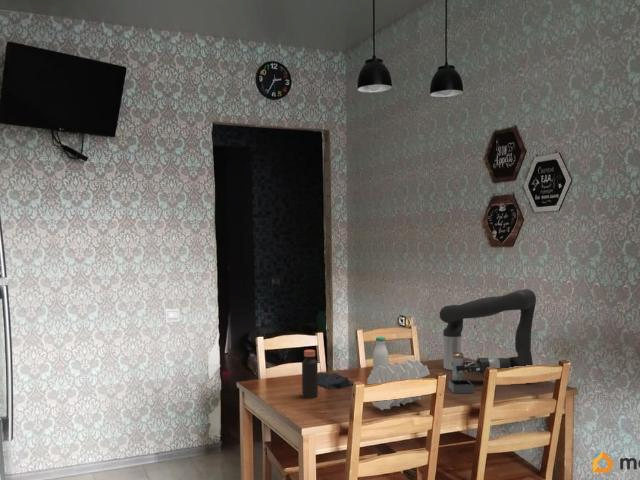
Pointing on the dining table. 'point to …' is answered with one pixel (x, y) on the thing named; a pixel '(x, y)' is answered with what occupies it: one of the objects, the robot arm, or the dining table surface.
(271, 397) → the dining table surface
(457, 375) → the grey cylinder
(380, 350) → the milk bottle
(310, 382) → the vinegar
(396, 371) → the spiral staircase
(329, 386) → the dark slate chunk
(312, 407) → the dining table surface
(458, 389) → the socket
